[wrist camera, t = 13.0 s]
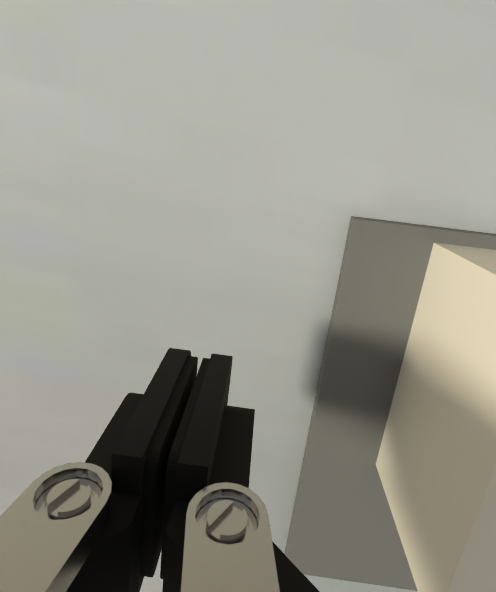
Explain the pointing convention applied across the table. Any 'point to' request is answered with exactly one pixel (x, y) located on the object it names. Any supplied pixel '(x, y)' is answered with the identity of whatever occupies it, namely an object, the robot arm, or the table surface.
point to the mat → (362, 405)
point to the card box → (447, 427)
